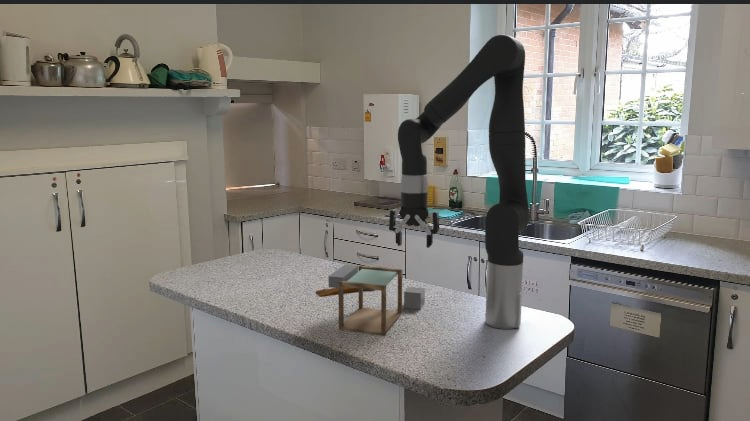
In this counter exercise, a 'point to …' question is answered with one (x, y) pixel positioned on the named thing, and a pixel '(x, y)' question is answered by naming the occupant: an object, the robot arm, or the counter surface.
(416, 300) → the stone
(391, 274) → the trapdoor
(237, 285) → the counter surface
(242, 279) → the counter surface
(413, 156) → the robot arm
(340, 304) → the wooden box frame
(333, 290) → the primitive tool
